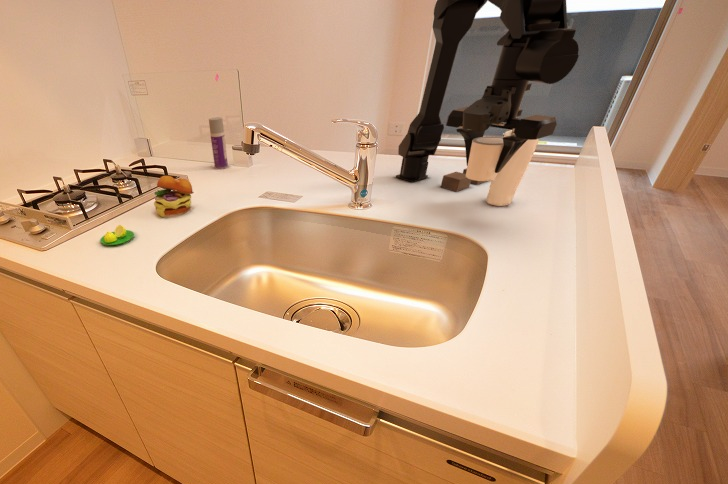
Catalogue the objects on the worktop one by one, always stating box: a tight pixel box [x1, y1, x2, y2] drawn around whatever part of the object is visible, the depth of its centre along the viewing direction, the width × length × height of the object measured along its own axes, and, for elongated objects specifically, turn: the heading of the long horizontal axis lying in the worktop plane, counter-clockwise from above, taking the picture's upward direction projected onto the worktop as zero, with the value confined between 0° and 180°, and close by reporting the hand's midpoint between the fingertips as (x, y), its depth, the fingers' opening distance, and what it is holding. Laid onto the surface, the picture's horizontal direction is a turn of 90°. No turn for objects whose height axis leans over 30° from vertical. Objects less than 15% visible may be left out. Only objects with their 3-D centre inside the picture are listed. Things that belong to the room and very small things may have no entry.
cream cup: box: [466, 136, 504, 182], centre depth 75 cm, size 7×7×7 cm
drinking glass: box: [485, 129, 540, 207], centre depth 83 cm, size 7×7×15 cm
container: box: [208, 116, 229, 170], centre depth 124 cm, size 5×5×15 cm
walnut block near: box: [440, 171, 472, 192], centre depth 97 cm, size 5×5×3 cm
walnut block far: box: [462, 167, 487, 186], centre depth 100 cm, size 5×5×3 cm
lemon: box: [99, 224, 135, 246], centre depth 87 cm, size 8×8×3 cm
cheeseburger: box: [153, 175, 195, 218], centre depth 98 cm, size 10×11×10 cm
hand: (482, 169), depth 76 cm, fingers closed on cream cup, 6 cm apart
